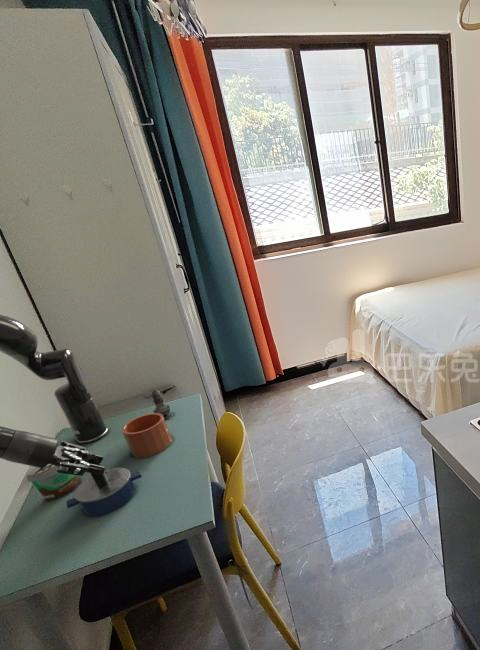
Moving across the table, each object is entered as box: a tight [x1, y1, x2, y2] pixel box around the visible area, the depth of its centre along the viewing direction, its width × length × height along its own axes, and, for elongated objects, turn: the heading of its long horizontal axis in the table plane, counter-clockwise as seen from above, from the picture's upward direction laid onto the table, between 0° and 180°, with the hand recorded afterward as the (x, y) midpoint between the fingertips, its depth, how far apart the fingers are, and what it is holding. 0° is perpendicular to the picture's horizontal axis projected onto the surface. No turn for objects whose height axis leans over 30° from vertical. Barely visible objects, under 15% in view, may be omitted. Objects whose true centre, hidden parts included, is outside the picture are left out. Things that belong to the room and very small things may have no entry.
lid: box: [73, 453, 132, 503], centre depth 121 cm, size 14×14×10 cm
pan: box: [66, 470, 142, 517], centre depth 124 cm, size 13×18×5 cm
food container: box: [26, 464, 80, 501], centre depth 129 cm, size 12×6×10 cm, turn 168°
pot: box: [121, 412, 173, 458], centre depth 146 cm, size 12×12×9 cm
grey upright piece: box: [151, 388, 174, 421], centre depth 162 cm, size 6×6×12 cm
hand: (102, 465), depth 121 cm, fingers open, 5 cm apart
